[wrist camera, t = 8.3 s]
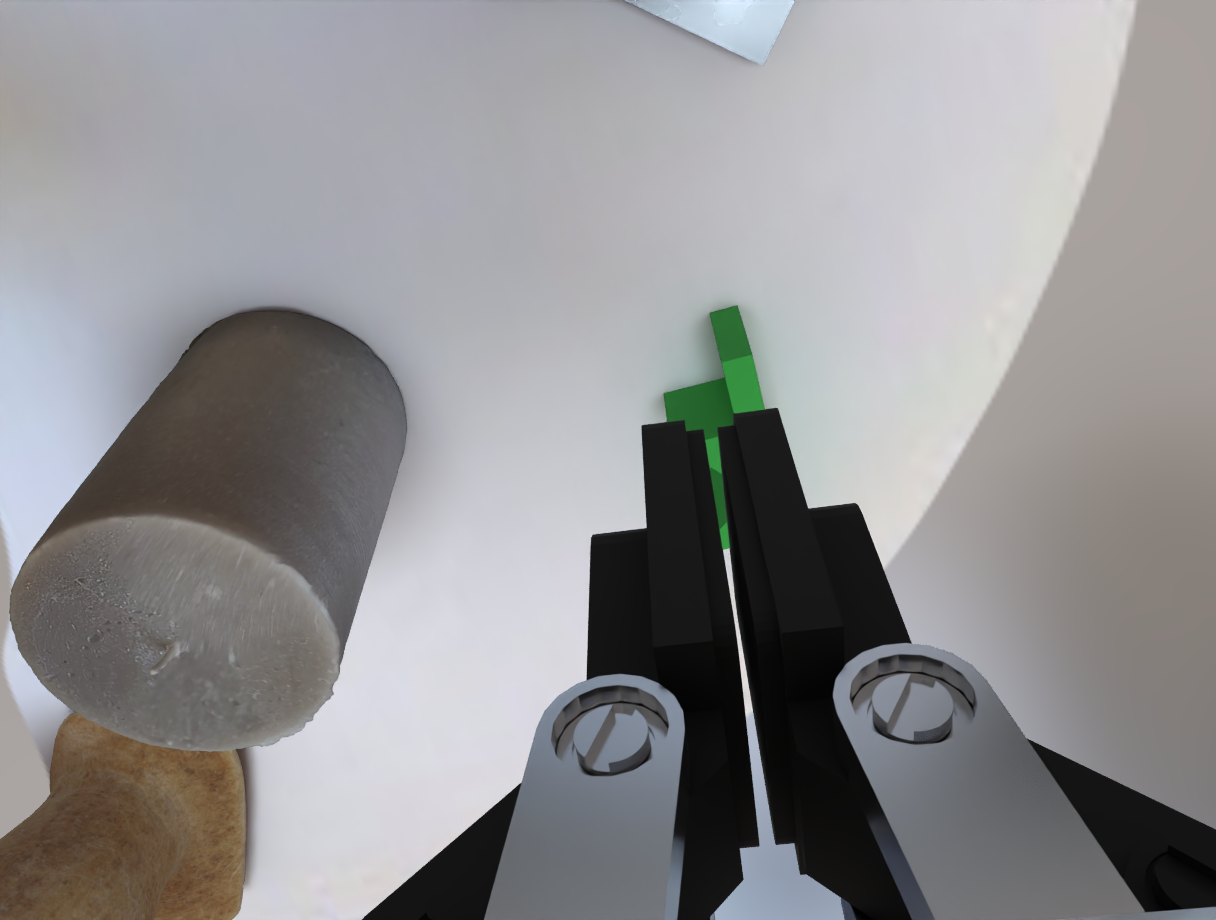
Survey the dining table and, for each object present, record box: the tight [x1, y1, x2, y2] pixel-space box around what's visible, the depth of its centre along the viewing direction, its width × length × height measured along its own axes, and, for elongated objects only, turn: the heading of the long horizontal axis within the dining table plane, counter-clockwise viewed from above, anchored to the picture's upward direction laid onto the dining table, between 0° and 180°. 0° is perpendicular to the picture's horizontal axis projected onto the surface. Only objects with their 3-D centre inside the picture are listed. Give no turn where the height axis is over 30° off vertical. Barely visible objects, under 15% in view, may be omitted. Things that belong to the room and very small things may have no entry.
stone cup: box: [0, 712, 246, 920], centre depth 46 cm, size 15×12×15 cm
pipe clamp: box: [664, 306, 765, 549], centre depth 39 cm, size 11×4×5 cm, turn 16°
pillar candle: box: [9, 311, 407, 752], centre depth 34 cm, size 10×10×15 cm
